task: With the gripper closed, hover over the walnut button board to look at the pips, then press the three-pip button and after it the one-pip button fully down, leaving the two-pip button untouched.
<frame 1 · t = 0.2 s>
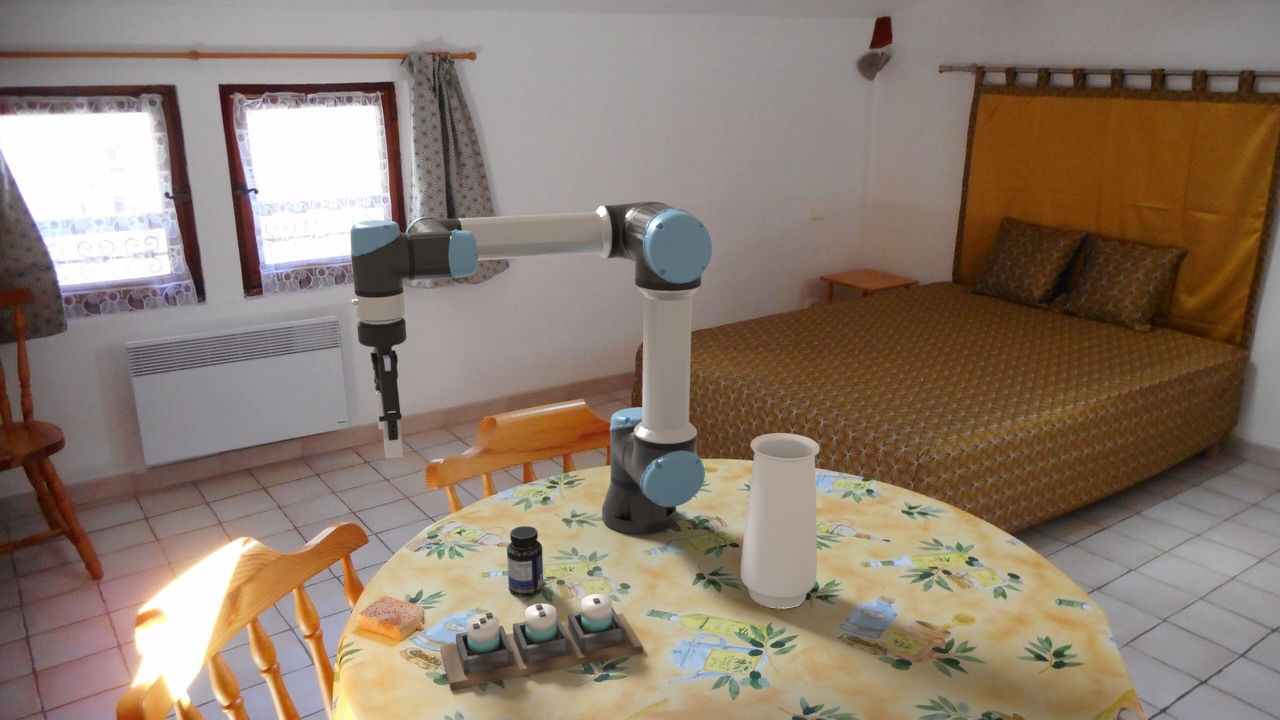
hand: (390, 442, 163), 28 cm above the table, fingers open, 13 cm apart
button one: (596, 612, 155), point 5 cm above the table, slide at 0.0 cm
vase: (777, 595, 171), on the table
button three: (483, 632, 149), point 5 cm above the table, slide at 0.0 cm
pill bottle: (526, 589, 172), on the table
button two: (541, 621, 152), point 5 cm above the table, slide at 0.0 cm
button board: (541, 652, 154), on the table
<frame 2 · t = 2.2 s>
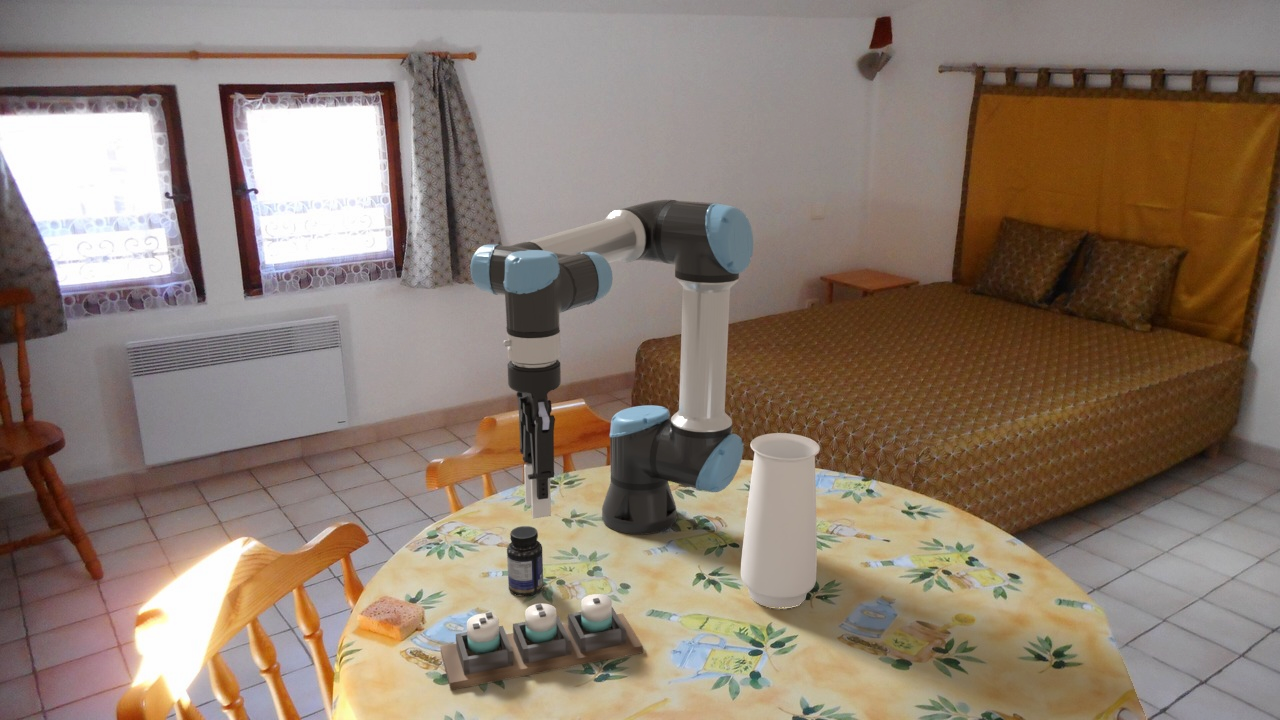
hand: (537, 509, 146), 25 cm above the table, fingers open, 4 cm apart
nothing on the table moved.
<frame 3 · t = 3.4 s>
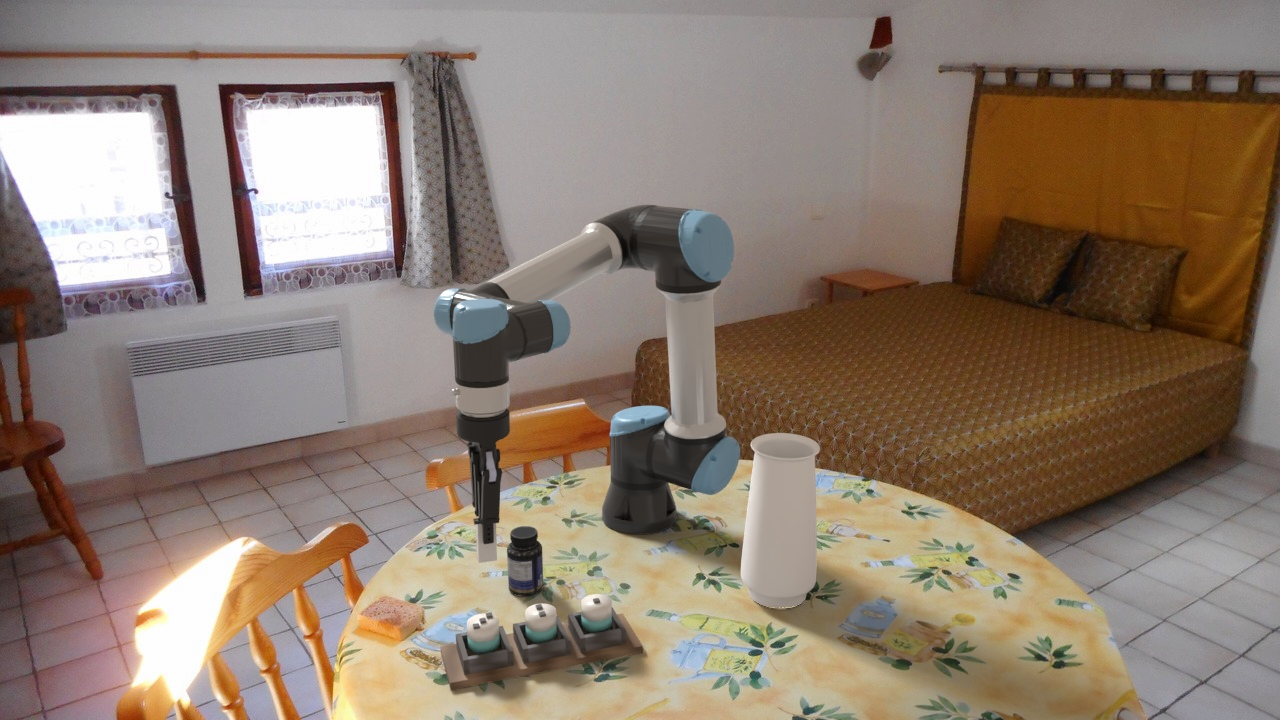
hand: (486, 559, 146), 18 cm above the table, fingers closed
nothing on the table moved.
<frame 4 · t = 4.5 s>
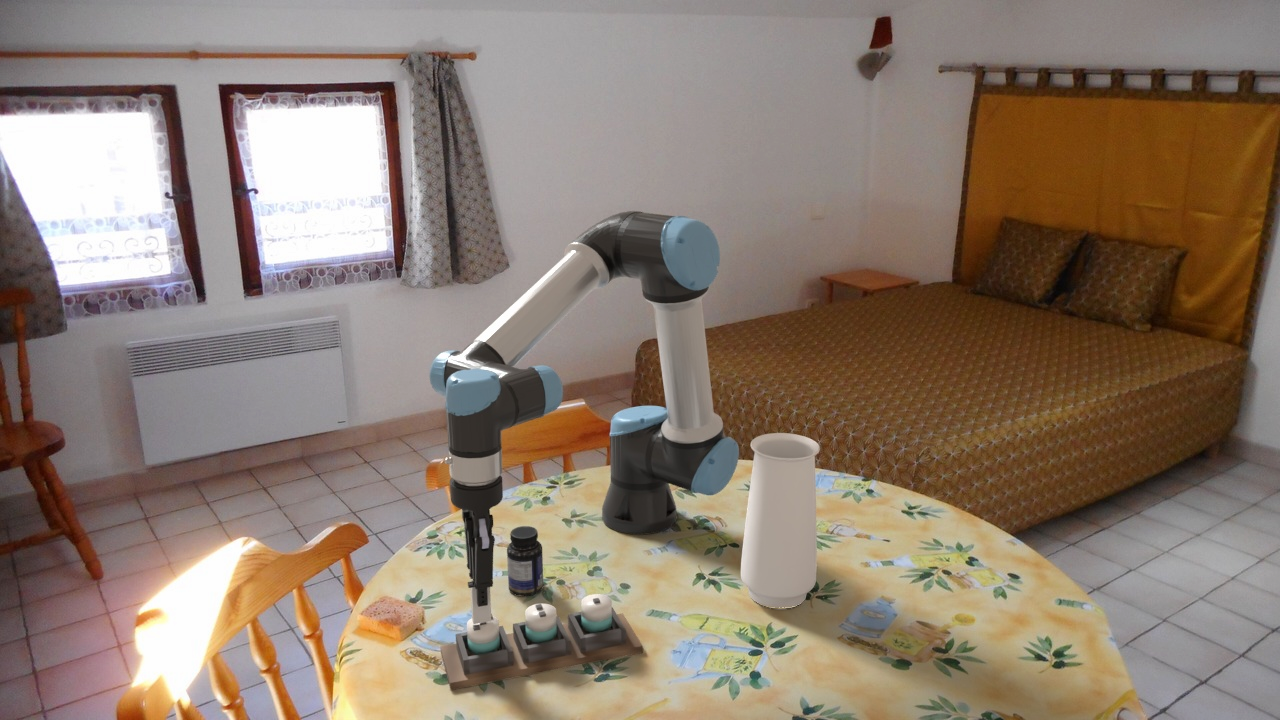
hand: (481, 620, 148), 8 cm above the table, fingers closed
button three: (483, 633, 149), point 5 cm above the table, slide at 0.2 cm, touching gripper
everything else where it was.
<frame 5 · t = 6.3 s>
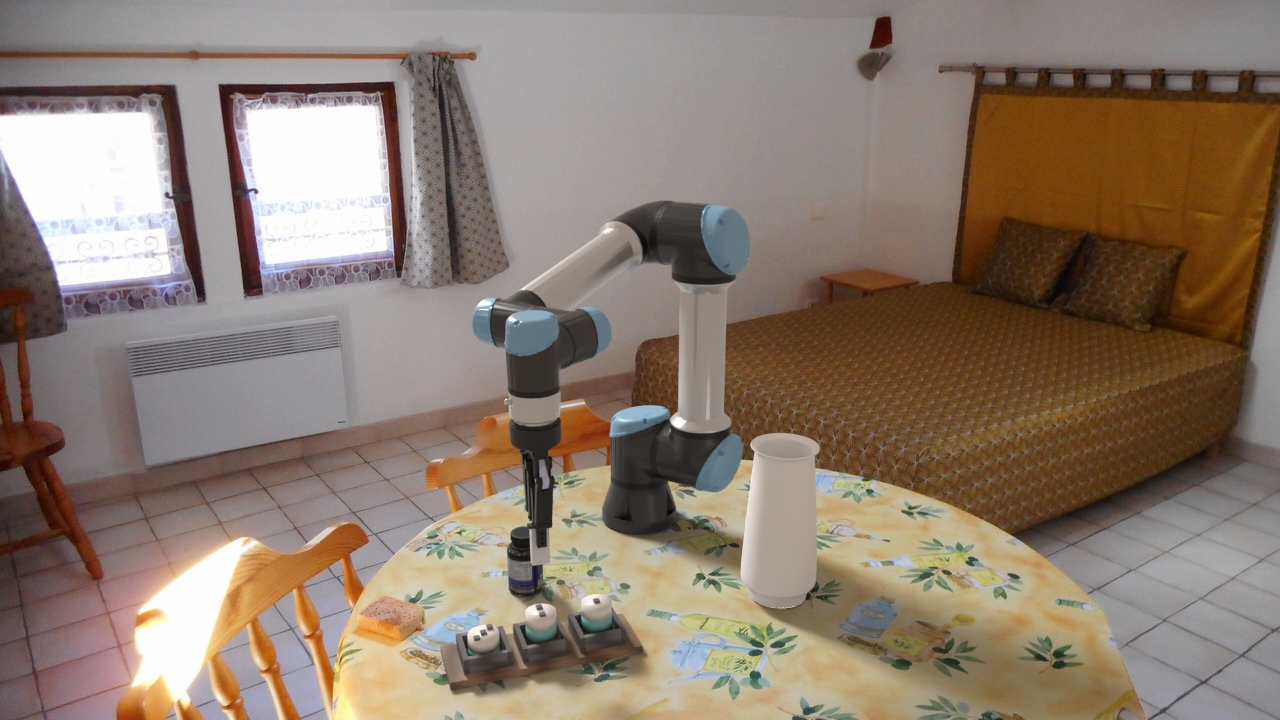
hand: (540, 562, 149), 16 cm above the table, fingers closed
button three: (483, 643, 150), point 3 cm above the table, slide at 2.0 cm
everything else where it was.
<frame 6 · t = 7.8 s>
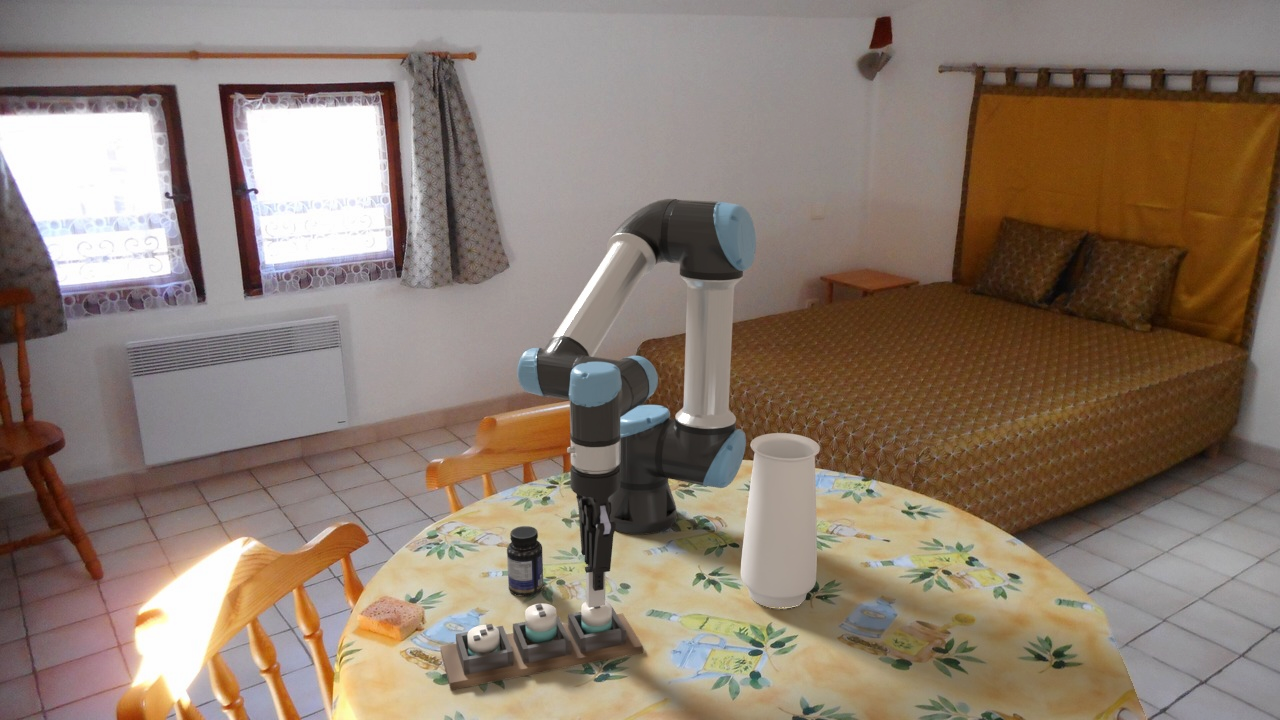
hand: (595, 604, 154), 7 cm above the table, fingers closed
button one: (596, 617, 155), point 5 cm above the table, slide at 0.9 cm, touching gripper
everything else where it was.
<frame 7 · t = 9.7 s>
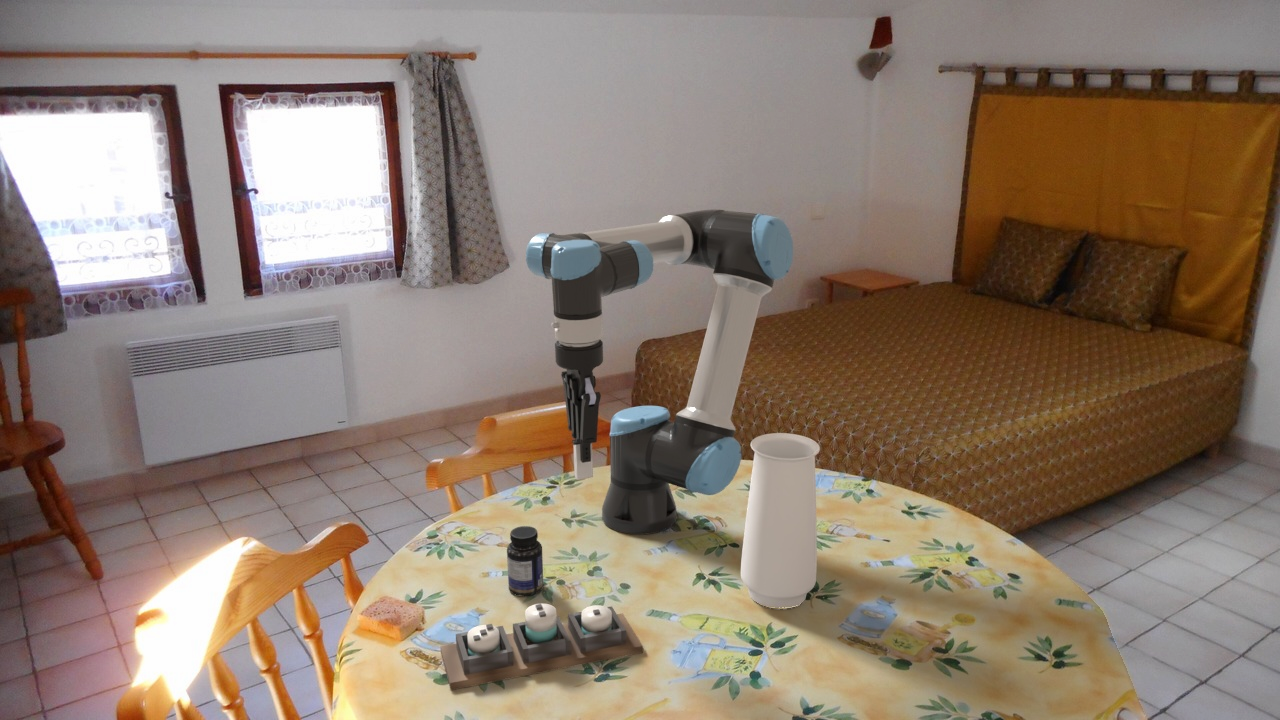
hand: (583, 476, 161), 23 cm above the table, fingers closed
button one: (596, 623, 155), point 3 cm above the table, slide at 2.0 cm
everything else where it was.
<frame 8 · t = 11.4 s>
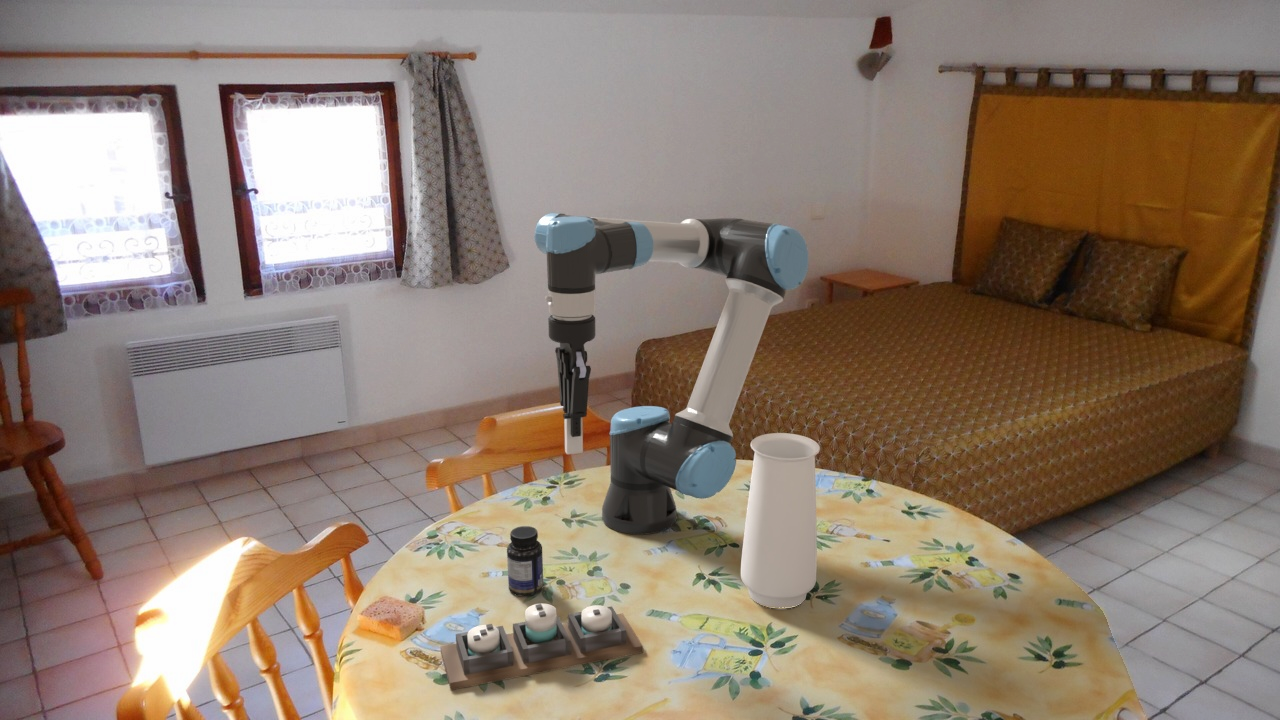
hand: (573, 451, 164), 26 cm above the table, fingers closed
nothing on the table moved.
at the end: button three slide at 2.0 cm; button one slide at 2.0 cm; button two slide at 0.0 cm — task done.
